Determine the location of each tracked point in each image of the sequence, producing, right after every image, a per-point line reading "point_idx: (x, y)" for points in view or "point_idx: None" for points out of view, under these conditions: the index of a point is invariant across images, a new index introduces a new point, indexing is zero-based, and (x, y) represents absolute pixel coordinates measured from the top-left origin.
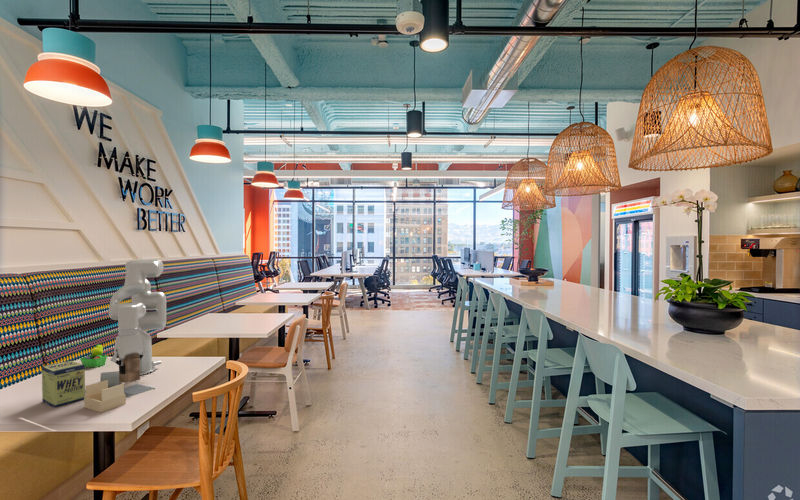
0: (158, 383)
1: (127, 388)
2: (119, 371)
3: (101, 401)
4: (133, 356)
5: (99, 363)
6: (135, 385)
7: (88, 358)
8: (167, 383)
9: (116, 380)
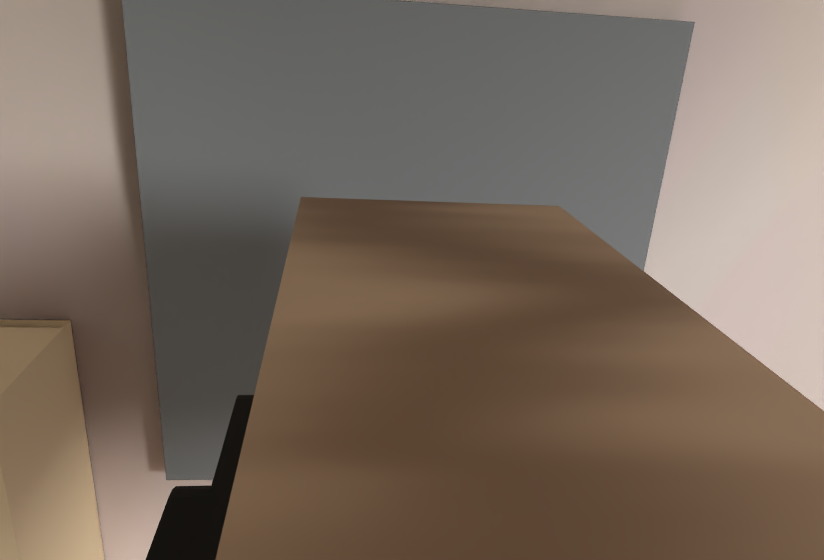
0: (805, 283)
1: (471, 108)
2: (170, 513)
3: None
4: None
5: None
6: (623, 85)
7: None
8: (819, 397)
9: None
